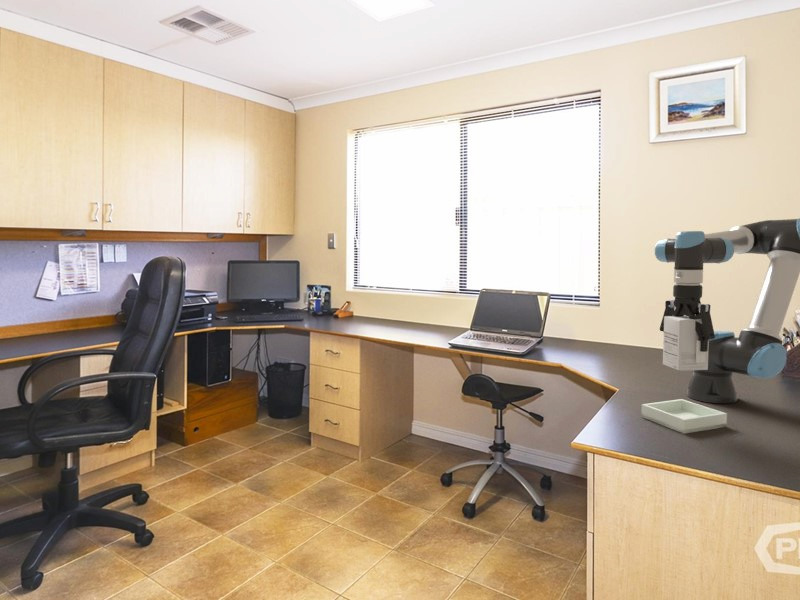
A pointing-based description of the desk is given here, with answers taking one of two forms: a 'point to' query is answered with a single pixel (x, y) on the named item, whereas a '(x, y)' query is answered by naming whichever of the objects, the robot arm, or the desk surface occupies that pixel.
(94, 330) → the desk surface
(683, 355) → the supplement box
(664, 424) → the tote
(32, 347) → the desk surface
